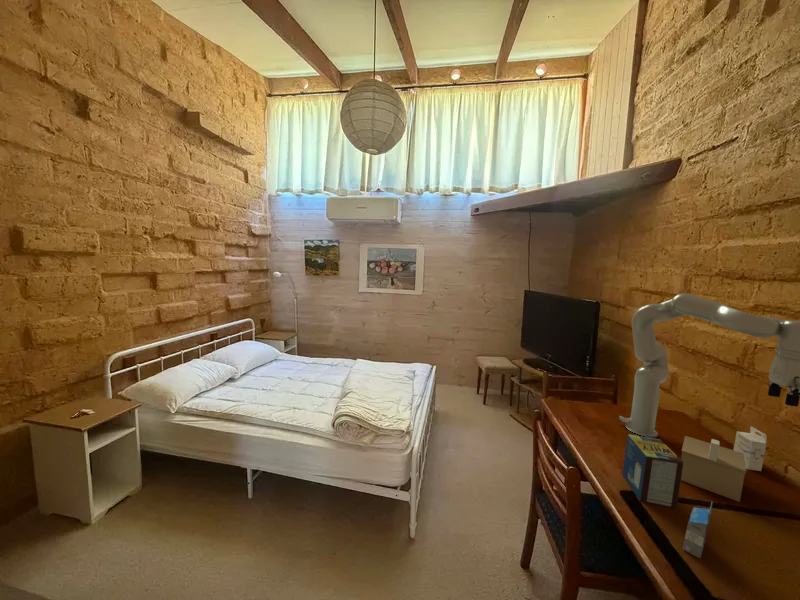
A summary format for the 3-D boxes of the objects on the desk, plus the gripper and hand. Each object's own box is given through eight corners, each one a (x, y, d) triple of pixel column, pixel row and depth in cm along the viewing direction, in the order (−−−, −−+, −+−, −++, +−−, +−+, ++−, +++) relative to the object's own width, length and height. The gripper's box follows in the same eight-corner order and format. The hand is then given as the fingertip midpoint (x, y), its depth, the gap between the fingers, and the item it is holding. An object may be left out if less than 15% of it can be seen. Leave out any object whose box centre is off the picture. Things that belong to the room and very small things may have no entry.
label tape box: (687, 533, 97) (694, 493, 96) (706, 542, 94) (713, 501, 93) (681, 549, 91) (689, 506, 90) (702, 560, 88) (709, 515, 87)
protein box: (654, 480, 123) (660, 438, 121) (677, 509, 108) (684, 462, 106) (621, 474, 125) (627, 433, 123) (639, 501, 110) (646, 455, 109)
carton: (677, 479, 124) (682, 452, 123) (681, 462, 136) (685, 438, 135) (739, 501, 113) (744, 473, 112) (737, 481, 125) (742, 455, 124)
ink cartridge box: (730, 457, 142) (736, 423, 141) (744, 459, 141) (751, 425, 140) (747, 469, 134) (753, 433, 133) (762, 471, 133) (769, 435, 132)
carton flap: (681, 452, 123) (684, 434, 122) (684, 437, 135) (687, 421, 134) (745, 473, 112) (749, 453, 111) (743, 455, 124) (746, 437, 123)
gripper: (762, 348, 133) (754, 391, 135) (793, 358, 117) (784, 407, 119) (788, 351, 130) (780, 395, 132) (824, 362, 114) (813, 411, 116)
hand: (782, 400), depth 125 cm, fingers open, 9 cm apart
